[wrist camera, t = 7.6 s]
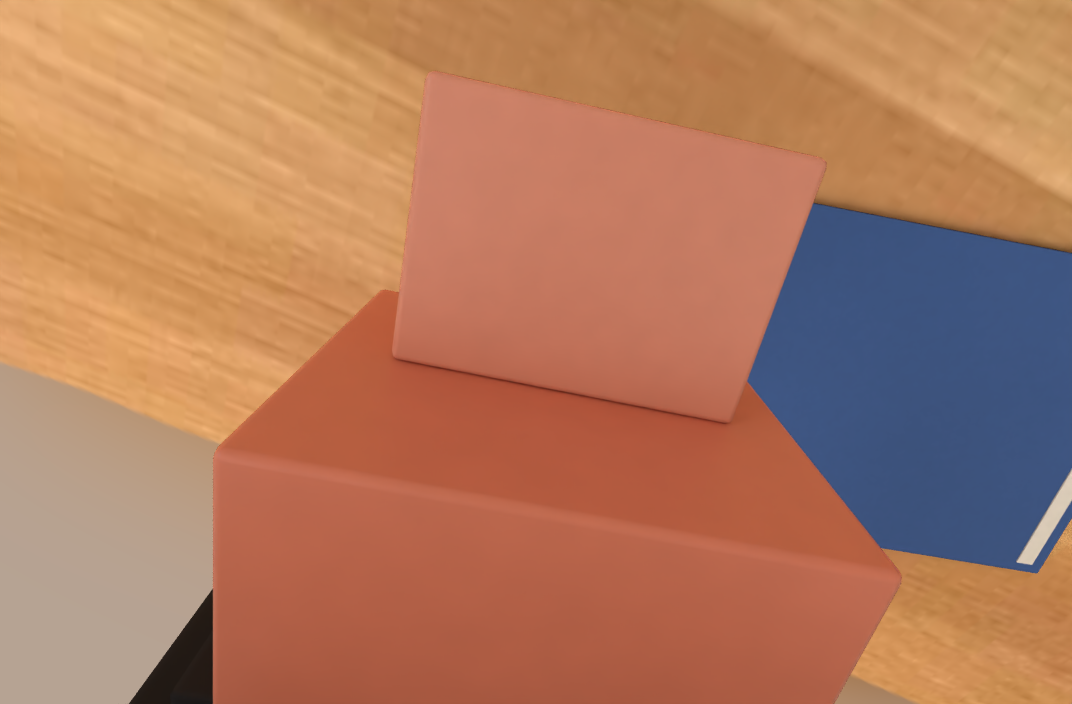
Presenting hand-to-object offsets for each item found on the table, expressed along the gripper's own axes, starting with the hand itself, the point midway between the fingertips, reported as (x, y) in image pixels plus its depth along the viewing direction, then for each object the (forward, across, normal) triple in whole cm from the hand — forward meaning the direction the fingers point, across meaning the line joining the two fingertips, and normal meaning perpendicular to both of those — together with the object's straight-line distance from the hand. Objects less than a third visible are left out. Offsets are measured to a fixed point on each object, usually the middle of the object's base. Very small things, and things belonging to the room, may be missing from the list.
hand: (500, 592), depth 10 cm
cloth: (+15, -17, 0) cm, 23 cm away
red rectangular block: (+1, 0, -2) cm, 2 cm away
